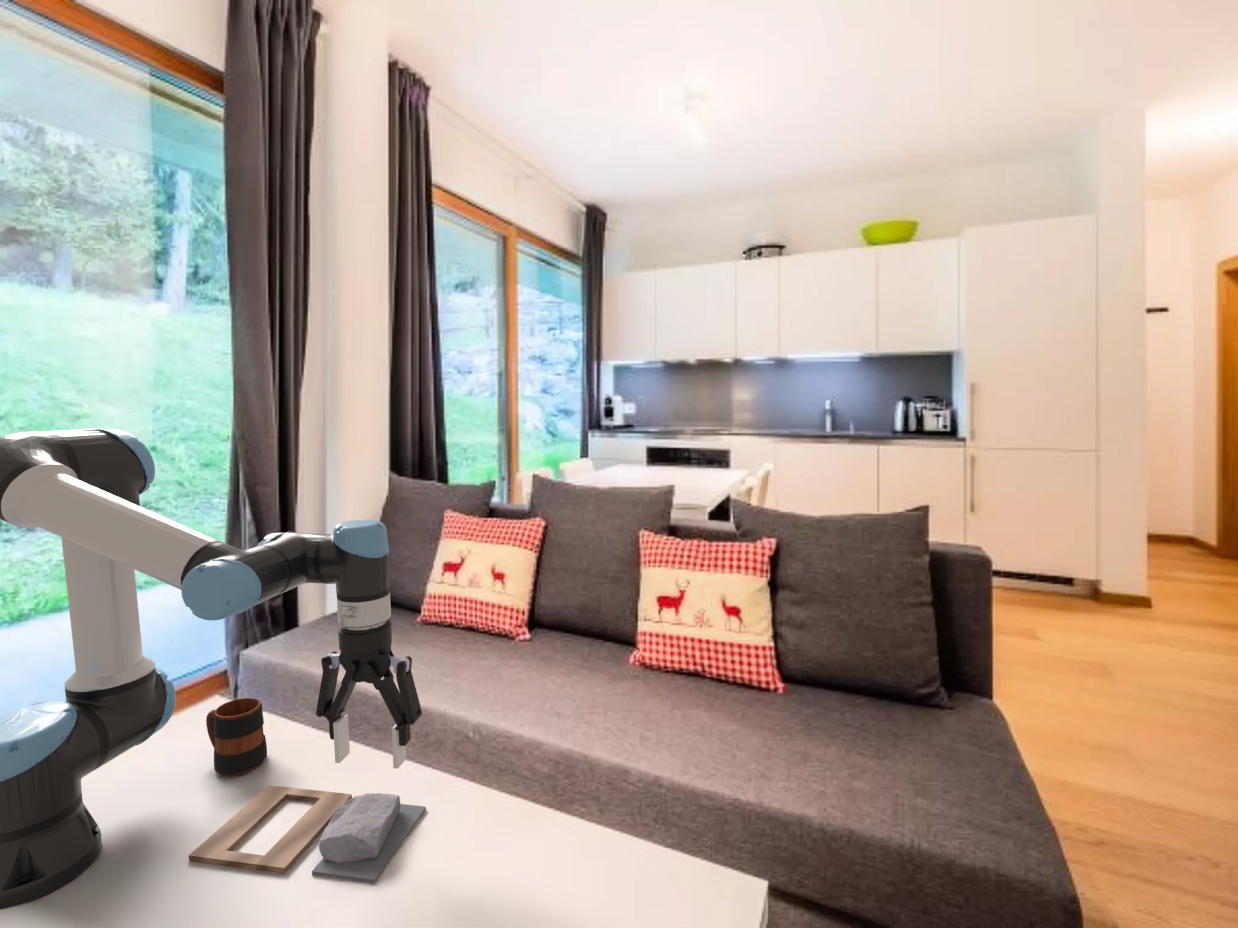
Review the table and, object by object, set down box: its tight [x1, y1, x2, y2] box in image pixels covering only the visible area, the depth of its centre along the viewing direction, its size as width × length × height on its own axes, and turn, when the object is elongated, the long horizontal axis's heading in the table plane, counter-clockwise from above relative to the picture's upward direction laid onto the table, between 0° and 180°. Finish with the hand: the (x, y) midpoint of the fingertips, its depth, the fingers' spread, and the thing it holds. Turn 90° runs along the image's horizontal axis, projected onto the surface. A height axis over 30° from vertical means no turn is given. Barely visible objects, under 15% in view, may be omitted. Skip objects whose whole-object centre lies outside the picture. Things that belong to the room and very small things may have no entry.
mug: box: [205, 697, 268, 778], centre depth 116 cm, size 9×12×12 cm
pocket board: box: [188, 784, 353, 875], centre depth 99 cm, size 16×17×1 cm
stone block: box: [318, 792, 401, 863], centre depth 97 cm, size 12×5×10 cm
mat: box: [311, 803, 427, 884], centre depth 96 cm, size 10×16×1 cm, turn 172°
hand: (371, 760), depth 95 cm, fingers open, 9 cm apart
